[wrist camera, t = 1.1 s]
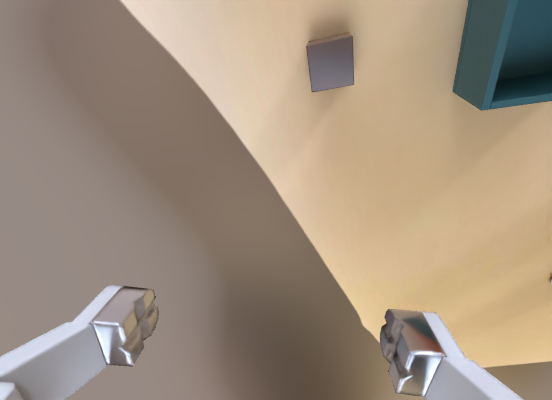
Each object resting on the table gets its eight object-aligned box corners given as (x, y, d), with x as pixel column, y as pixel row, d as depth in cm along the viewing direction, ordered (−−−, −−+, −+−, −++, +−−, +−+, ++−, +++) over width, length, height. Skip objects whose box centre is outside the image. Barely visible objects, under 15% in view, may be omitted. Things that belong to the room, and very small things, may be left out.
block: (308, 41, 33) (306, 46, 29) (349, 32, 31) (352, 35, 27) (313, 82, 35) (311, 92, 31) (350, 75, 34) (354, 84, 30)
